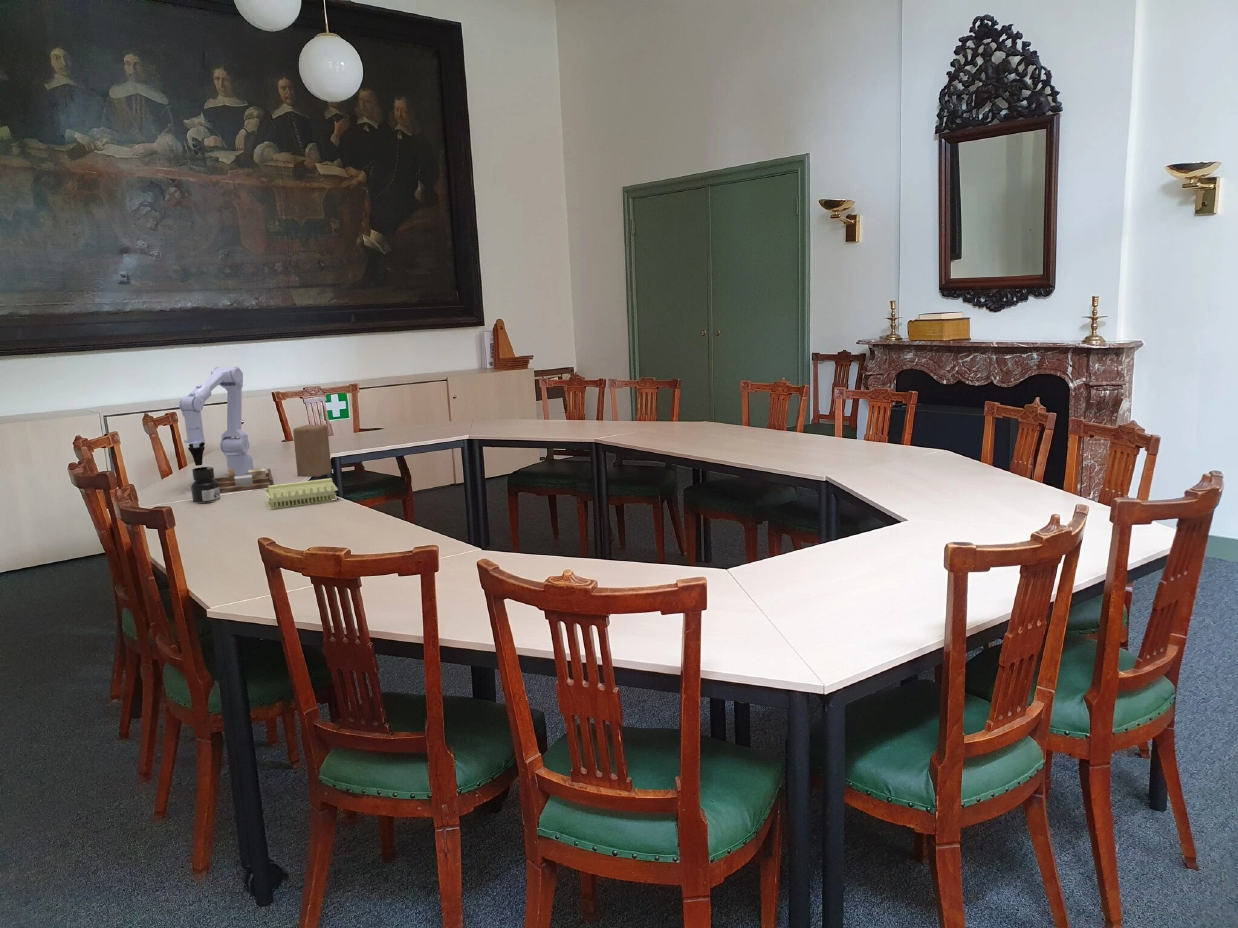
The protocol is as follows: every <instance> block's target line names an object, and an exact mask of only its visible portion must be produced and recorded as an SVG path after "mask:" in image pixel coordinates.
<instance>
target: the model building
mask: <svg viewBox="0 0 1238 928" xmlns="http://www.w3.org/2000/svg"><path fill="white" fill-rule="evenodd" d="M336 491H339V488H338V487H337V486H336V485H335V482H333V478H322V479H313V480H307V481H306V480H305V481H297V482H289V483H282V484H281V483H280V484H273V485H271V486H268V488H266V489H265V490H264V492H265V494H266V496H267V498H268V501H265V504H266V503H268V504H266V506H267V508H268V509H269V508H270V509H269V510H274V509H273V508H276V509H279V508H280V509H283V508H289V507H298V506H304V505H312V504H311V503H314V504H320V503H327V502H334V501H333V500H332V499H335V500H336V497H337V492H336ZM268 506H269V507H268Z"/></svg>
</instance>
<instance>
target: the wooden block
mask: <svg viewBox="0 0 1238 928" xmlns="http://www.w3.org/2000/svg"><path fill="white" fill-rule="evenodd" d="M328 431H329V430H328V426H327V425H325V424H305V425H301V426H298V427H295V428H293V430H292V432H293V433H292V435H293V443H294V451H295V453H294V454H295V462H296V470H297V471H296V473H297V477H322V476H324V475H326V476H327V475H330V474H331V473H332V462H331V452H330V442H329V441H330V440H329V432H328Z"/></svg>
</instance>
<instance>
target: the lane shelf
mask: <svg viewBox="0 0 1238 928" xmlns="http://www.w3.org/2000/svg"><path fill="white" fill-rule="evenodd" d="M265 473H266V478H262V479H252V482H253V485H247V486H238V487H235V481H233V482H230V481H229V476H223V477H222V476H221V477H214V478H213V479H215V480H216V481H217V482H218V483H219V491H220V494H226V493H236V492H244V491H245V492H247V491H253V490H255V491H256V490H264V489H265V490H266V489H268V486H271V485H274V480H273V475H272V471H271V468H267V472H265ZM244 475H245V474H244ZM244 475H240V476H244Z"/></svg>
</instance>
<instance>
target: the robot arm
mask: <svg viewBox="0 0 1238 928" xmlns="http://www.w3.org/2000/svg"><path fill="white" fill-rule="evenodd" d="M218 386H220V387H222V388H223V389H225V391H227V397H226V400H227V401H226V402H227V405H226V409H227V410H226V411H227V413H226V414H227V415H226V416H227V417H226V419H227V420H226V430H225V431H224V432H223V433H222V434H221V438H220V439H221V440H220V443H219V448H220V451H221V452H222V453H223V455H224V456H225V458H226V465H227V471H228V470H229V469H234V471H235V476H241V475H248V474H249V472H248V470H253V469H254V464H253V463H254V462H253V457H252V455H251V454H250V453H249V450H250V442H249V435H248V434H247V433H246V432H244V431H243V430H242V410H243V409H242V407H243V405H242V400H243V397H242V395H243V393H242V391H243V390H242V389H243V387H244V373H243V371H242V370H241V368H240V367H238V366H227V367H226V366H216V367H214V368H213V369H212V370H211V373H210V376H209V377H208V379H207V380H206V381H205V382H204V384H197V385H196V386H195V388H194V389H193V390H192V391H191V392H189V394H188V395H187V396H183V397H182V398H181V399H180V400H179V404H178V408H179V410H180V411H181V413H182V417H183V418H184V422H185V423H184V424H185V431H186V432H185V433H186V440H183V443H184V444H188V446H189V447H187V449H188V451H189V452H190V454H191V456H192V458H193V462H194V464H195V466H196V467H197V466H202V465H203V455H204V451H205V450H206V449H205V448H206V447H205V444H206V442H205V441H206V439H205V436H204V435H205V433H204V428H203V420H202V419H203V418H202V411H203V409H204V405H205V404H206V403H205V402H206V401H207V400H209V398H210V397H211V396H212V391H213V390H214V389H215V388H217V387H218ZM227 473H228V472H227ZM228 476H229V473H228Z"/></svg>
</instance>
